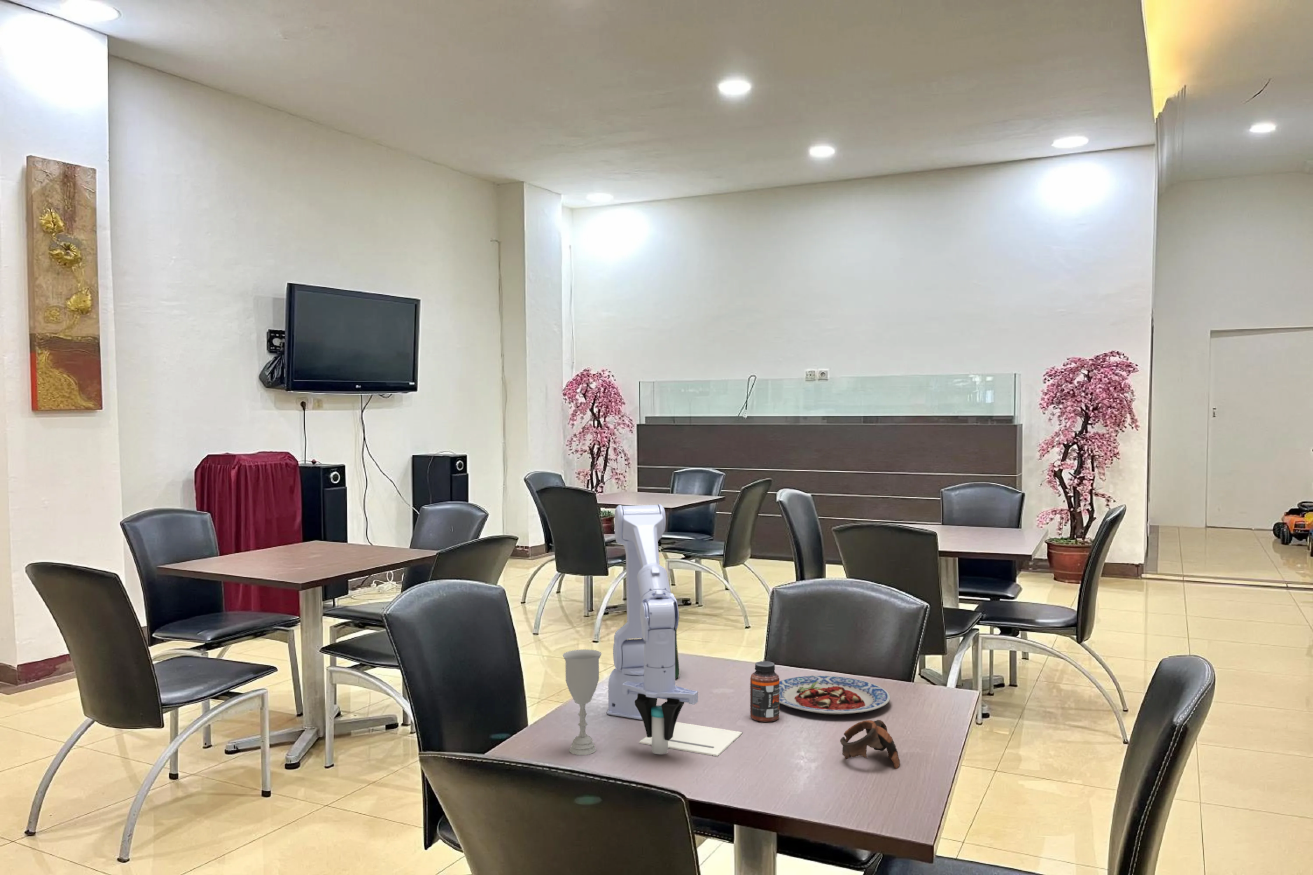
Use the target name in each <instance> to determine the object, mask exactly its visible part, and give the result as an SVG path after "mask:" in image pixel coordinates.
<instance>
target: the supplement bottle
mask: <svg viewBox="0 0 1313 875" xmlns="http://www.w3.org/2000/svg"><path fill="white" fill-rule="evenodd" d="M754 670H755V671H754V672H752V673H751V674H750V679H749V680H750V683H749V685H750V686H749V687H750V688H749V689H750V690H749V693H750V695H749V703H750V704H749V706H750V707H749V713H750V718H751V719H752V720H754V721H758V722H763V723H771V722H775V721H777V720H779V718H780V703H779V681H780V675H779V674H778V673H777V672H775V670H776V666H775V662H772V661H767V660H765V661H763V660H762V661H756V662H755V664H754Z"/></svg>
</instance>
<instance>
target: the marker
mask: <svg viewBox="0 0 1313 875" xmlns="http://www.w3.org/2000/svg"><path fill="white" fill-rule="evenodd" d="M651 716H652V745H651V753H652V754H655V755H666V754H668V752H669V748H668V741H667V740H665V738H664V716H663V711H662V707H661V705H656V706H653V707H651Z"/></svg>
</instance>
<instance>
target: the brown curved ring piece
mask: <svg viewBox="0 0 1313 875" xmlns="http://www.w3.org/2000/svg"><path fill="white" fill-rule="evenodd" d="M864 731H865V733H866V734H865V736H863V737H861V738H860V739H858V740H855V741H854V740H853V741H852V742H851V741H850V740H851V739H852V738H853V737H854V736H856V735H858V734H859V733H861V732H864ZM843 735H844V736H842V737H841V738H840V740H839V742H840V744H841V745H842V748H841V751H842V752H841V753H842V754H841V755H842V756H843V757H845V759H849V758H856V757H860V756H862V757H863V758H867V759H868V754H867V750H868V747H869V748H871V749H873V750H875V751H881V752H883V751H885V750H886V752H887V756H888V758H889V759H890V760H891V761H892V763H893V767H894V769H898V767H900V763H901V761H900V757H899V752H898V749H897V746H896V744H895V742H894V740H893V737H892V736H891V734H890V732H888V729H887V726H886V724H885V722H884V721H883V720H881V719H876V720H870V719H868V720H867V719H865V720H861V721H860V722H859V721H858V722H857V723H855V724H853V725H852V726H850V727H849V728H848V729H846V730H845V732H844V733H843Z"/></svg>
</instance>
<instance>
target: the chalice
mask: <svg viewBox="0 0 1313 875" xmlns="http://www.w3.org/2000/svg"><path fill="white" fill-rule="evenodd" d="M562 656H563V659H564V661H565V682H566V686H567V689H568V691H569V693H570V695H571V697H572V700H573V701H574V703H576V704H578V705H579V712H578V714H577V715H578V716H579V722H578V724H577V726H578V727H579V734H578V735H577V736H576V737H574V738H573V739H572V743H571V745H570V748H569V753H571V754H573V755H577V756H586V755H587V756H588V755H591V754H594V753H595V752H597V748H596V746H595V743H594V739H593V738H592V737H591V736H589V735H588V733H586V728H587V725H588V722H587V721H586V717H587V715H588V713H587V711H586V704H589V703H590V702H591V700H592V698H593V697H594V694H595V692H596V690H597V686H598V684H599V681H600V658H601V656H602V651H599V650H597V649H596V650H594V649H586V648H585V649H574V650H569V651H565V652H564V653H562Z"/></svg>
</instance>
